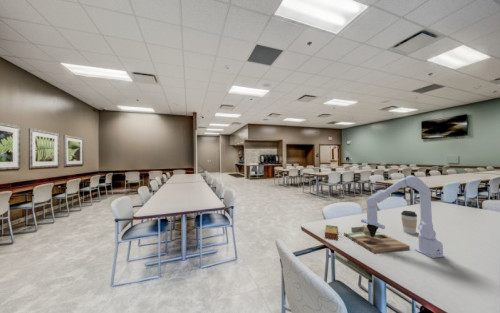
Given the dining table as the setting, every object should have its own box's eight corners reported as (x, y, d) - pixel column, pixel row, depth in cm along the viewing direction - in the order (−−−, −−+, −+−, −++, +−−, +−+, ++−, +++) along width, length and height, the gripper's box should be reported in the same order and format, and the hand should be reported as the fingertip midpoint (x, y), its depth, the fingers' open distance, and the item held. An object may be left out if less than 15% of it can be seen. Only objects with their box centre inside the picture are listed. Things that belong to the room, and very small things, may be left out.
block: (373, 235, 125) (373, 227, 125) (364, 234, 127) (364, 226, 127) (371, 232, 130) (371, 225, 130) (363, 231, 132) (363, 224, 132)
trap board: (409, 249, 109) (409, 240, 109) (373, 253, 105) (373, 244, 105) (373, 232, 135) (373, 225, 135) (343, 234, 131) (343, 227, 131)
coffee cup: (403, 233, 133) (402, 212, 133) (400, 228, 141) (399, 209, 141) (419, 235, 129) (419, 213, 129) (415, 230, 137) (414, 210, 137)
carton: (324, 238, 127) (324, 231, 127) (325, 230, 142) (325, 224, 142) (338, 240, 124) (337, 233, 124) (337, 231, 138) (337, 225, 138)
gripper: (387, 217, 116) (388, 239, 116) (365, 212, 129) (366, 231, 129) (380, 219, 113) (381, 241, 113) (358, 213, 127) (359, 233, 126)
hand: (372, 236), depth 121 cm, fingers closed
